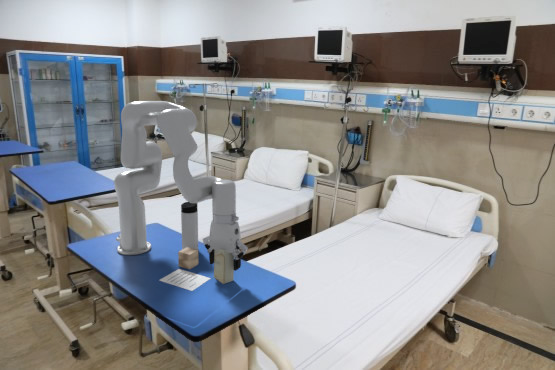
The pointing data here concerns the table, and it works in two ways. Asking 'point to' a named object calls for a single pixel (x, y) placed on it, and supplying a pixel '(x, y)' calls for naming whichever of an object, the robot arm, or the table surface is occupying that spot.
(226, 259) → the skincare box
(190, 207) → the travel mug
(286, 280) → the table surface
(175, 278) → the letter
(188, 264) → the block
